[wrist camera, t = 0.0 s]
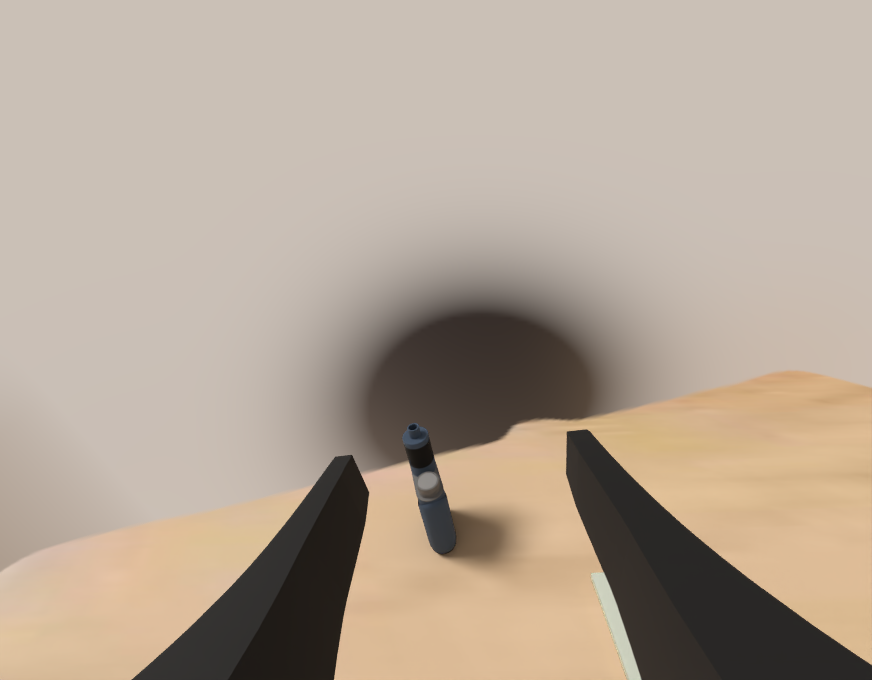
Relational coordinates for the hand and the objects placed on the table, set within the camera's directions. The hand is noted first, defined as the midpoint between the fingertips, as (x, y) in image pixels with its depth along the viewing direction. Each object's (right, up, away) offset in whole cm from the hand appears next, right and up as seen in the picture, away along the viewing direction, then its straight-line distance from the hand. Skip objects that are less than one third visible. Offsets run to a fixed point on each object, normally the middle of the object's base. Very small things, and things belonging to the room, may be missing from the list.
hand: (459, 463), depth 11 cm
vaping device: (0, -15, +21) cm, 26 cm away
